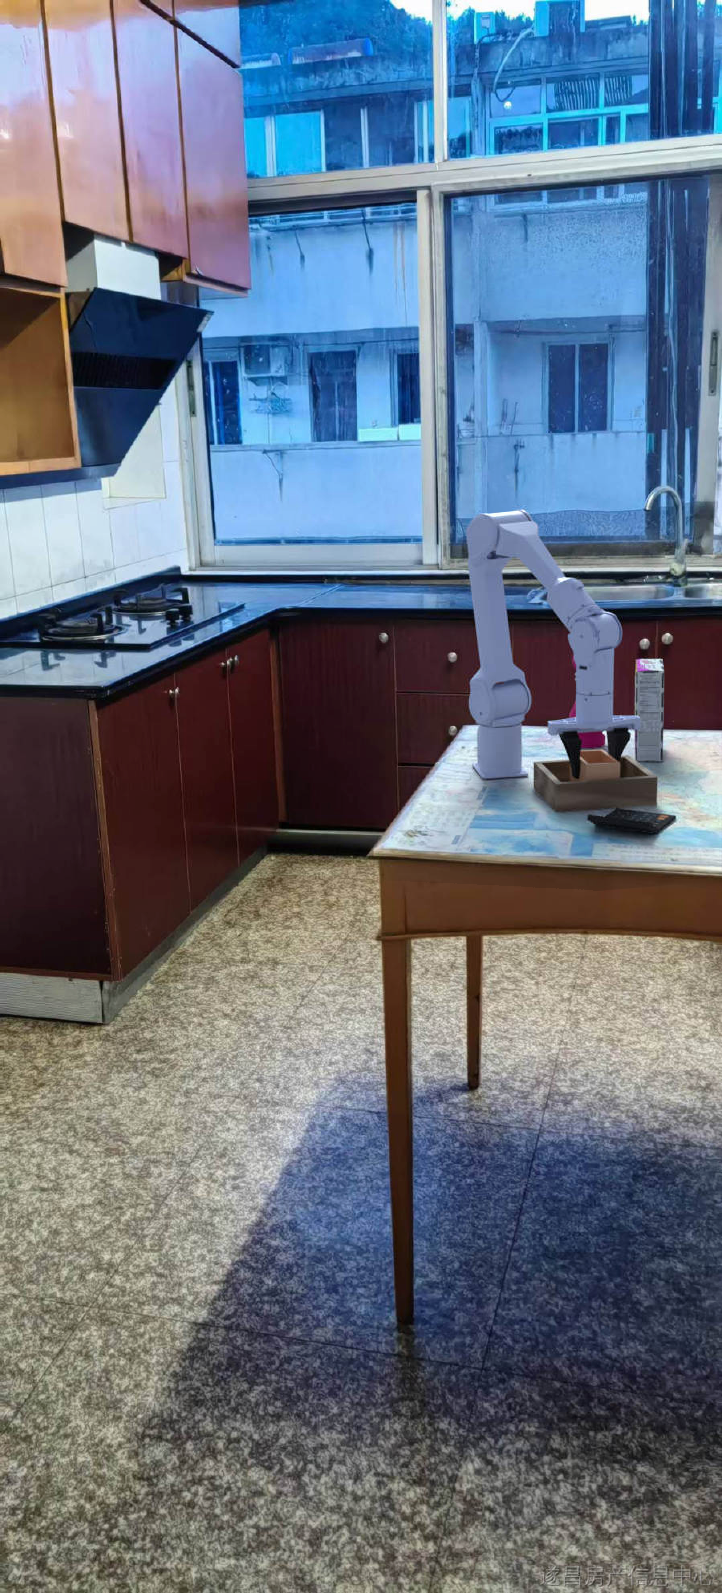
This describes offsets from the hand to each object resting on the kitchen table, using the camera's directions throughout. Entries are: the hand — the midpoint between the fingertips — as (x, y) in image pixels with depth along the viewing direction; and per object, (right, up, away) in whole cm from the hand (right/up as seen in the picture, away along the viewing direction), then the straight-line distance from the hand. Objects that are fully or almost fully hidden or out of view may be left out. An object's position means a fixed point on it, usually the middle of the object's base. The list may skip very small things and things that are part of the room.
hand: (593, 775), depth 201 cm
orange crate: (0, -2, 0) cm, 2 cm away
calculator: (+3, -8, -14) cm, 16 cm away
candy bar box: (+14, +4, +25) cm, 29 cm away
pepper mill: (+5, +6, +33) cm, 34 cm away
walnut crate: (0, -3, +1) cm, 3 cm away
